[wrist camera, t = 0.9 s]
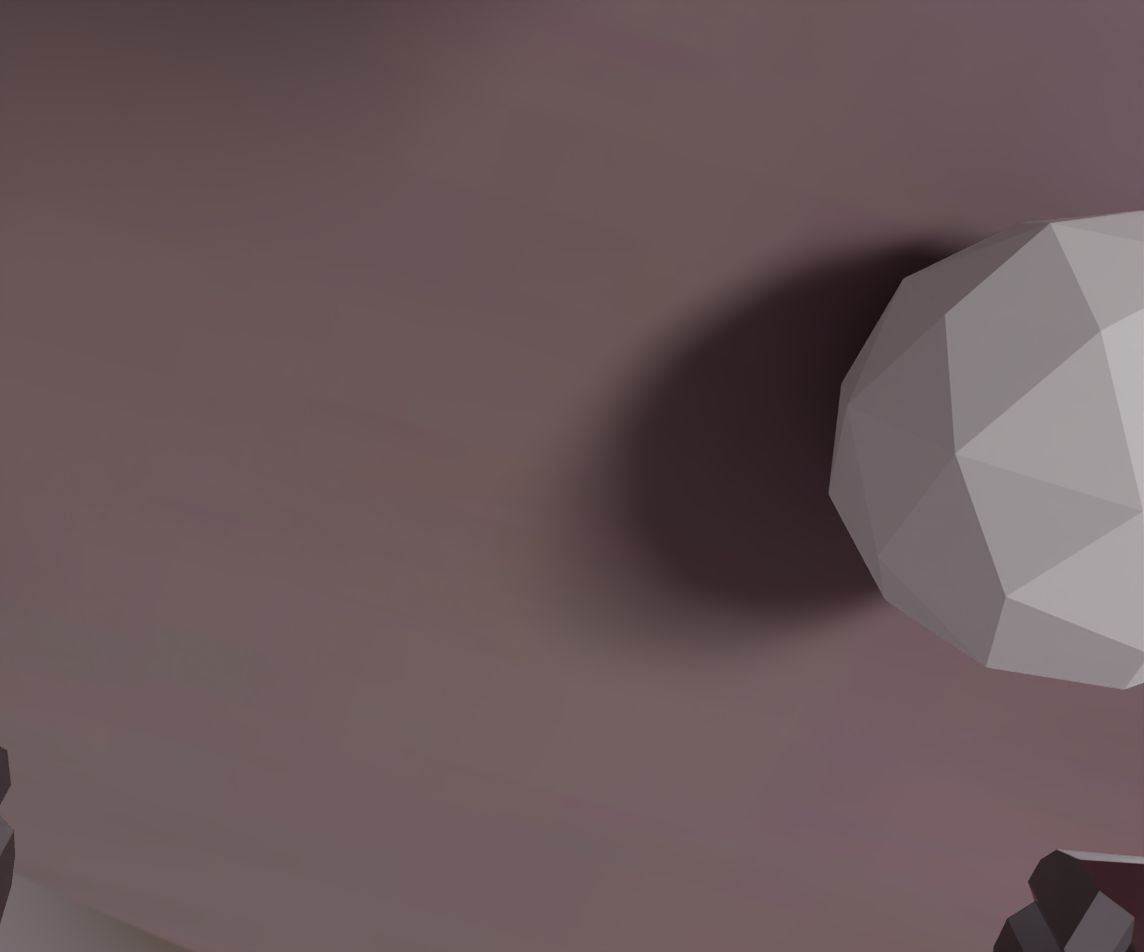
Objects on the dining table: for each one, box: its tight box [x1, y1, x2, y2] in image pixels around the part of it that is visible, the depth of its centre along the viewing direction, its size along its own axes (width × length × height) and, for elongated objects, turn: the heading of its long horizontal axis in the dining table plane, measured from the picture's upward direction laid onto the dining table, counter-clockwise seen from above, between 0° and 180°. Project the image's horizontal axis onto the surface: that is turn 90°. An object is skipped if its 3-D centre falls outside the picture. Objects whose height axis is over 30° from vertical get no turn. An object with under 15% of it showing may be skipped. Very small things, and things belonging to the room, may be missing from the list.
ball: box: [828, 210, 1144, 689], centre depth 45 cm, size 19×20×20 cm
